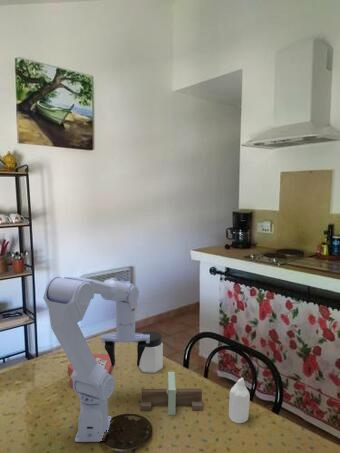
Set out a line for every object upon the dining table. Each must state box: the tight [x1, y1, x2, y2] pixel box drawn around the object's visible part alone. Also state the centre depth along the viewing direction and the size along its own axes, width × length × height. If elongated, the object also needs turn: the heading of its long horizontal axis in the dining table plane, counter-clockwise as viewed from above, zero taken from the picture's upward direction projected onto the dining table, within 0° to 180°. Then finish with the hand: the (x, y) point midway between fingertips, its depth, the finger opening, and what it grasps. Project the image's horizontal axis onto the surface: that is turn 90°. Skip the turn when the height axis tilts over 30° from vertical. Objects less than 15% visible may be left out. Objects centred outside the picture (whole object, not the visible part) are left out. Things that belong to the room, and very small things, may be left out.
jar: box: [137, 330, 164, 374], centre depth 123 cm, size 9×8×12 cm
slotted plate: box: [167, 371, 177, 416], centre depth 102 cm, size 10×2×8 cm, turn 1°
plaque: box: [67, 353, 114, 388], centre depth 119 cm, size 18×4×15 cm
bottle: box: [228, 377, 251, 424], centre depth 96 cm, size 6×12×6 cm
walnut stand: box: [140, 388, 204, 412], centre depth 102 cm, size 6×18×4 cm, turn 91°
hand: (125, 364), depth 105 cm, fingers open, 7 cm apart
